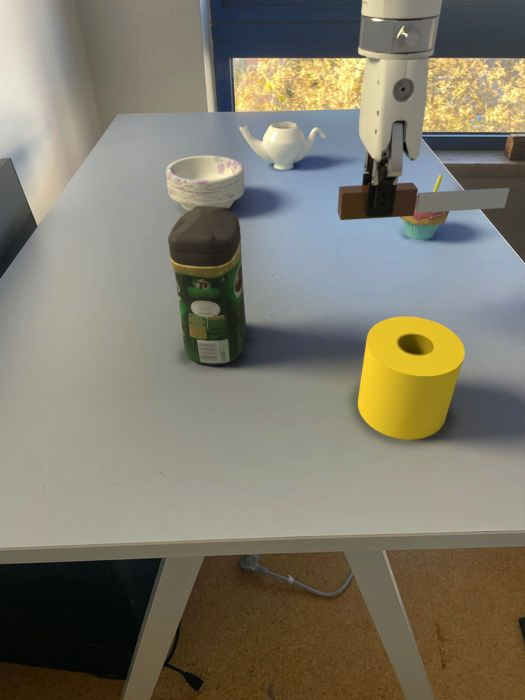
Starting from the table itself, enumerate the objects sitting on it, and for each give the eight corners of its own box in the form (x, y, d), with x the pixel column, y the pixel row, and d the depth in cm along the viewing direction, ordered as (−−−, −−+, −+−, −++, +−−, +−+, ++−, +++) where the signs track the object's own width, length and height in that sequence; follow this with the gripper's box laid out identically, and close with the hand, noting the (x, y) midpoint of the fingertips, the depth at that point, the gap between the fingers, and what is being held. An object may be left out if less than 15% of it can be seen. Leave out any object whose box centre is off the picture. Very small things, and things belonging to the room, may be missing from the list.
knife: (340, 220, 63) (342, 193, 60) (337, 212, 64) (339, 186, 62) (507, 210, 63) (515, 183, 61) (500, 203, 65) (507, 176, 62)
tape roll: (355, 434, 57) (365, 370, 51) (359, 374, 65) (367, 312, 59) (449, 445, 56) (470, 381, 50) (441, 383, 63) (459, 321, 57)
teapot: (328, 172, 118) (330, 130, 113) (241, 175, 118) (239, 132, 112) (322, 158, 126) (324, 117, 120) (240, 160, 125) (239, 120, 120)
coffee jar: (196, 322, 74) (181, 198, 62) (250, 326, 73) (245, 200, 61) (177, 366, 67) (156, 234, 55) (238, 371, 66) (229, 238, 54)
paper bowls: (257, 197, 108) (256, 159, 103) (223, 227, 97) (220, 186, 92) (194, 186, 113) (190, 149, 108) (155, 214, 103) (149, 174, 98)
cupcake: (448, 230, 95) (463, 165, 87) (435, 249, 89) (450, 182, 82) (403, 220, 98) (413, 157, 91) (387, 238, 93) (397, 172, 85)
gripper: (462, 49, 45) (425, 239, 57) (412, 23, 58) (390, 184, 69) (377, 52, 45) (358, 242, 57) (345, 26, 58) (334, 186, 69)
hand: (375, 209), depth 63 cm, fingers closed on knife, 2 cm apart
